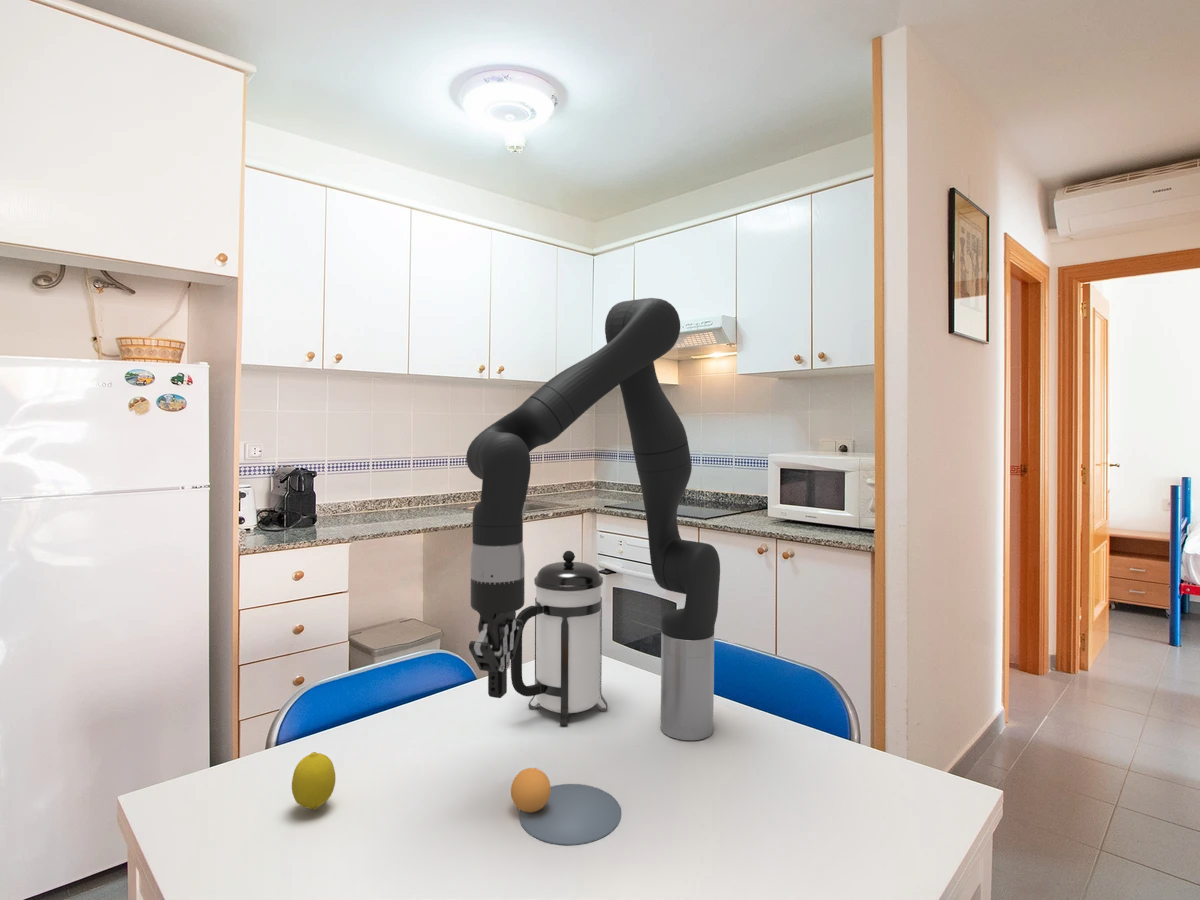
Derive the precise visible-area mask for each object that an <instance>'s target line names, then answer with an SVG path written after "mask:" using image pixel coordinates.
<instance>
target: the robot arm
mask: <svg viewBox="0 0 1200 900" xmlns="http://www.w3.org/2000/svg"><path fill="white" fill-rule="evenodd" d="M605 318H606V319H605V321H604V322H605V323H604V333H605V341H606V344H605V345H604V346H602V347H601V348H600V349H598V350H597V351H595V352H594V353H592V354H590V355H589V356H587V357H585V358H583V359H582V360H580V361H578V362H577V363H574V364H573V365H571V366H569V367H567V368H566V369H564V370H562V371H561V372H559V373H558V374H556V375H555V376H554V377H552V378H551V379H549V380H548V381H547V382H545V383H544V384H543V385H542V386H540V387H539V388H538V389H537V390H536V391H534V393H532V394H531V395H530V396H529V397H528V398H527V399H526V400H524V401H523V403H522V404H521V405H519V406H518V407H517V408H515V409H513V410H512V411H511V412H509V413H508V414H506V415H504V416H502V417H501V418H499V419H498V420H497V421H495V422H493V423H492V424H491V425H489V426H487V427H486V428H485V429H484V430H482V431H481V432H480V433H479V434H478V435H477V436H475V438H473V440H472V441H471V442H470V444H469V446H468V449H467V451H466V455H465V456H466V466H467V468H468V469H469V471H470V473H472V474H473V476H475V477H476V478H478V479H480V480H481V481H482V482H481V492H480V501H479V502H477V503H476V504H475V506H474V507H473V511H472V521H471V522H472V543H471V545H472V546H471V554H470V606H471V609H472V610H474V611H476V612H477V613H478V614H479V619H478V620H479V621H478V625H477V630H478V633H479V635H478V637H477V639H476V640H475V641H474V640H470V642H469V645H468V650H469V652H470V655H471V656H472V658H473V660H474V661H475V663H476V665H477V667H478V670H479V671H483V672H487V673H488V674H487V693H488V696H489V697H490V698H495V699H501V698H502V697H504V696H505V695H506V694H507V691H508V669H509V668H510V666H511V659H512V660H513V659H514V657H515V653H516V649H517V646H518V642H519V638H520V634H521V630H522V627H523V620H519V619H516V617H517V611H519V610H520V609H522V608H523V607H524V605H525V566H526V565H525V551H524V550H525V549H524V536H523V535H524V521H523V520H524V517H523V510H524V507H525V503H526V499H527V492H528V490H529V489H528V488H529V484H530V478H531V466H532V465H531V461H532V460H531V455H530V452H532V451H533V450H534V449H536V448H537V447H540V446H543V445H547V444H549V443H551V442H553V441H554V440H556V438H558V437H559V436H560V435H562V433H563V432H565V430H567V429H568V428H569V427H570V426H572V425H573V423H575V422H576V421H577V420H578V419H579V418H580V417H581V416H583V414H585V413H586V411H588V410H589V409H590V408H591V407H592V406H594V405H595V404H596V403H597V402H598V401H600V400H601V399H602V398H603V397H604V396H606V395H608V394H609V393H610V392H611V391H612V390H613V389H615V388H617V387H618V386H619V388H620V392H621V396H622V401H623V405H624V410H625V414H626V419H627V424H628V427H629V432H630V439H631V446H632V450H633V451H632V452H633V455H634V456H633V457H634V461H635V466H636V471H637V475H638V479H639V483H640V489H641V494H642V498H643V506H644V511H645V512H644V513H645V519H646V526H647V536H648V537H647V538H648V549H649V556H650V557H649V558H650V566H651V570H652V571H651V572H652V574H653V575H652V576H653V578H654V581H655V583H657V585H658V586H659V587H660V588H661V589H663V590H665V591H670V592H673V593H678V594H683V595H685V601H684V602H685V603H684V607H683V608H678V609H673V610H670V611H667V612H665V613H664V614H663V616H662V617H661V621H660V622H661V625H660V626H661V629H660V630H661V631H660V632H661V633H660V635H661V637H660V638H661V639H660V643H661V645H660V649H661V650H660V651H661V652H660V730H661V731H662V732H663V733H664V734H665V735H667V736H668V737H671V738H673V739H675V740H676V739H677V740H681V741H699V740H703V739H707V738H709V737H710V736H712V734H713V732H714V707H715V706H714V701H715V700H714V699H715V698H714V697H715V695H714V693H715V692H714V691H715V689H714V688H715V625H716V622H717V619H718V618H717V616H718V612H719V591H720V583H721V582H720V580H721V579H720V578H721V562H720V556H719V553H718V551H717V549H716V548H715V547H714V545H712V544H710V543H705V542H701V541H700V542H699V541H693V540H685V539H682V538H681V536H680V531H679V526H678V508H679V505H680V502H681V499H682V498H683V496H684V494H685V491H686V489H687V487H688V484H689V481H690V478H691V474H692V459H691V453H690V452H691V451H690V448H689V447H690V446H689V440H688V436H687V432H686V429H685V426H684V425H683V422H682V421H681V418H680V416H679V415H678V413H677V412H676V410H675V408H674V406H673V405H672V404H671V402H670V401H669V399H668V398H667V396H666V394H665V393H664V391H663V389H662V386H661V384H660V382H659V379H658V375H657V372H656V368H655V367H656V366H655V361H656V360H658V359H660V358H661V357H663V356H664V355H666V354H667V353H668V352H670V351H671V350H672V349H673V348H674V346H675V345H676V343H677V341H678V339H679V337H680V333H681V319H680V316H679V313H678V311H677V310H676V308H675V306H674V305H672V303H670V302H669V301H667V300H665V299H662V298H656V297H648V298H647V297H646V298H639V299H631V300H624V301H621V302H618V303H616V304H614V305H613V306H612V307H611V308H610V309H609V310H608V313H607V315H606V317H605Z"/></svg>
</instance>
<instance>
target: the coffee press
mask: <svg viewBox="0 0 1200 900" xmlns="http://www.w3.org/2000/svg"><path fill="white" fill-rule="evenodd" d="M575 558H576V556H575V553H574V552H573V551H572V550H566V551H565V552H563V554H562V559H563V561H559V562H557V561H556V562H554V563H553V562H552V563H549V564H546V565H544V566H543V567H541V568H540V569H539V571H538V572H537V574H536V576H535V577H534V579H533V580H534V581H533V582H534V585H535V587H536V588H535V589H536V590H535V591H536V592H535V593H536V595H535V596H536V597H534V605H530V606H527V607H525V608H523V609H522V610H521V611H520V612H519V613H518V614H517V615H516V617H515V618H516V619H519V620H523V627H522V630H521V634H520V638H519V642H518V646H517V649H516V653H515V657H514V659H513V660H512V659H510V679H511V680H510V681H511V685H512V687H513V689H514V690H515V692H517V694H519V695H520V696H524V697H532V698H531V699H530V700H529V702H528V709H530V710H531V711H533V710H535V709H537V708H538V707H539V706H541V707H542V708H544V709H546V710H548V711H551V712H554V713H558V714H559V713H560V715H559V726H561V727H562V726H563V727H564V726H566V727H568V726H569V716H570V714H574V713H575V714H576V713H580V712H581V713H582V712H585V711H587V710H589V709H592V708H593V707H596V708H597V709H598V710H599V711H600V712H602V713H605V712H606V711H607V710H608V705H609V704H608V702H607V700H606V699H605V698H604V696H603V693H602V692H603V691H602V676H603V675H602V665H603V664H602V654H603V653H602V650H603V649H602V648H603V646H602V644H603V642H602V641H603V640H602V639H603V636H602V635H603V634H602V633H603V632H602V631H603V625H602V623H603V597H602V596H601V595H602V594H601V593H602V585H603V584H604V583H603V582H604V578H603V576H601V574H600V571H599V570H598V568H596V567H595V566H593V565H591V564H589V563H586V562H581V561H574V560H575ZM532 618H534V684H530V685H526V684H525V683H524V680H523V633H524V628H525V625H526V623H528V621H529V620H530V619H532ZM535 697H536V700H537V703H536V704H535V705H532V704H531V702H533V700H534V699H535ZM600 699H601V701H602V702H603V704H604V705H605V707H602V706H601V705H600V704H599V703H598V702H599V701H600Z"/></svg>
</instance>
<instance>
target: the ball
mask: <svg viewBox="0 0 1200 900" xmlns="http://www.w3.org/2000/svg"><path fill="white" fill-rule="evenodd" d="M550 792H551V782H550V779H549V777H548V776H547V775H546V773H545V772H543V771H542V770H541V769H538V768H535V767H528V768H525V769H523V770H521V771H519V772H518V773H517V774H516V776H514V778H513V779H512V782H511V787H510V797H511V799H512V802H513V804H514V806H515V807H516V808H517V809H518V810H519V811H520V810H521V811H524V812H528V813H532V812H536V811H538V810H540V809H542V808H543V807H544V806H545V804H546V803H547V801H548V799H549V797H550Z"/></svg>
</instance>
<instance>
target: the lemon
mask: <svg viewBox="0 0 1200 900" xmlns="http://www.w3.org/2000/svg"><path fill="white" fill-rule="evenodd" d="M332 761H333V760H331V758H330V757H328V756H327V755H326V754H323V753H321V752H316V751H313V752H311V753H310V754H308V755H306V756H304V757H303V758H302V759H301V760H300V761H299V762H298V763H297V765H296V766H295V768H294V770H293V774H292V779H291V780H292V781H291V792H292V795H293V798H294V800H295V802H296V803H297V804H298V805H299V806H300V807H302V808H305V809H310V810H312V811H315V810H317V809H318V808H319V807H321V806H323V804H325V803H326V802H327V801H328V800H329V799H330V797H331V796H332V795H333V793H334V791H335V790H334V789H335V786H336V771H335V770H336V769H335V766H334V764H333V762H332Z"/></svg>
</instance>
